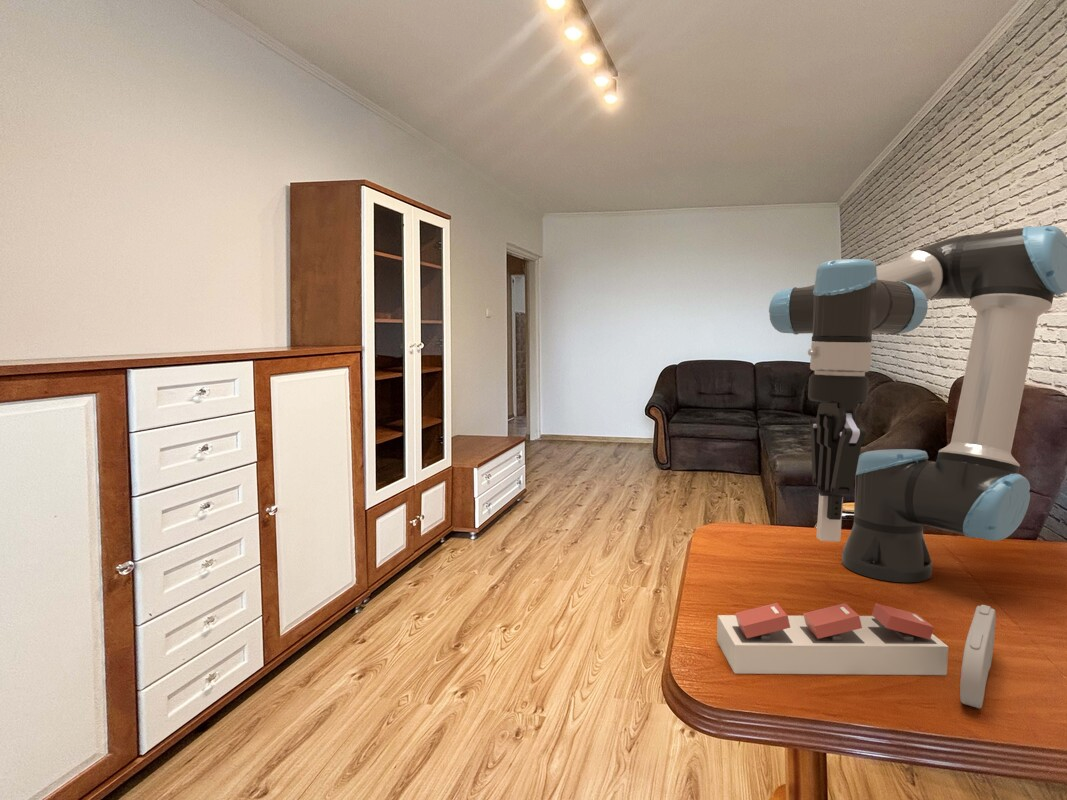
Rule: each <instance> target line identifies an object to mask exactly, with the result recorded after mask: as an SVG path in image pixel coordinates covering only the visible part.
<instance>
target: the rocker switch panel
mask: <svg viewBox="0 0 1067 800" xmlns="http://www.w3.org/2000/svg"><path fill="white" fill-rule="evenodd" d="M859 617H860V621H861V626H862V628H860V629H856V630H852V631H848V632H844V633H840V634H836V635H832V636H828V637H823V638H819V639H818V638H817V637H816V636H815V635H814V634H813V633H812V631H811V630H810V629H809V628H808V627H807V626H806V623H805V619H804V615H788V619H789V624H790V628H787V629H783V630H779V631H775V632H771V633H767V634H763V635H759V636H755V637H750V638H746V636H745V635H744V633H743V632H742V630H741V629H740V627H739V625H738V622H737V619H736V615H735V614H734V615H733V614H732V615H731V614H725V615H724V614H723V615H721V614H719V615H717V622H716V623H717V624H716V625H717V629H716V631H717V632H716V641H717V643H718V646H719V647H720V649H721V651H722V654H723V655H724V657H725V658H726V661H727V662H728V664H729V666H730V668H731V669H732V672H733V673H734V674H743V675H744V674H746V675H748V674H749V675H751V674H752V675H754V674H758V675H759V674H760V675H761V674H763V675H768V674H769V675H775V674H776V675H872V676H873V675H875V676H876V675H877V676H880V675H881V676H883V675H885V676H886V675H888V676H889V675H890V676H900V675H901V676H947V675H948V673H947V672H948V658H949V646H948V645H947V644H946V643H944V641H942V640H941V639H939V638H938V637H937V636H936V635H935V634H933V633H932V635H931V638H930V639H926V638H922V637H918V636H915V635H911V634H907V633H903V632H899V631H895V630H892V629H888V628H886V627H885V626H884V625H882V624H881V623H880V622H879V621H878V620H877V619H876V618H874V617H873V616H872V615H859Z"/></svg>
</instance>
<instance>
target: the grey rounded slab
mask: <svg viewBox="0 0 1067 800" xmlns="http://www.w3.org/2000/svg"><path fill="white" fill-rule="evenodd" d="M996 615H997V614H996V610H995V609H994V608H992V607H991V606H990V605H986V604H980V605H977V606H976V608H975V610H974V614H973V618H972V621H971V624H970V627H969V629H968V633H967V637H966V640H965V644H964V649H963V654H962V663H961V664H962V665H961V669H960V674H959V675H960V676H959V679H960V685H959V688H960V689H959V697H960V700H959V701H960V703H962V704H964V705H966V706H970V707H973V708H976V709H982V707H983V703H984V698H985V693H986V692H985V691H986V684H987V682H988V681H987V680H988V676H989V672H990V669H991V667H992V661H993V654H994V653H993V652H994V646H995V645H994V644H995V636H996V635H995V633H996V622H997V621H996V618H997V617H996Z"/></svg>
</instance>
